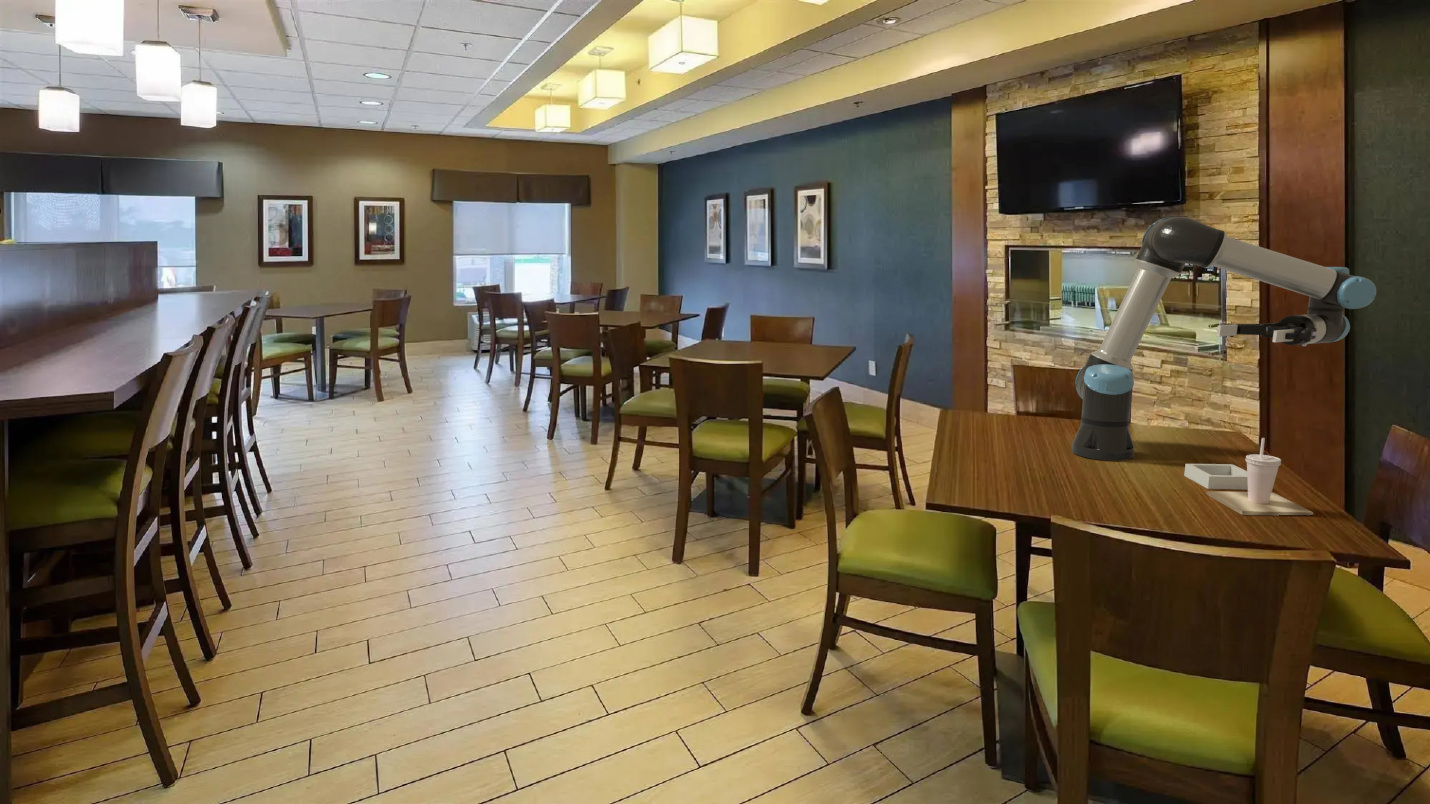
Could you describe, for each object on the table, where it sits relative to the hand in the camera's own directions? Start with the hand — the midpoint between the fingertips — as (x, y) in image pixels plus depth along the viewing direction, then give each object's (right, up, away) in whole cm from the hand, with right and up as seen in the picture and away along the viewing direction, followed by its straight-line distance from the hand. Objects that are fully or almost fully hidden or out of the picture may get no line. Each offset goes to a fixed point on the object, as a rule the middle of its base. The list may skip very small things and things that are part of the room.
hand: (1245, 333), depth 197 cm
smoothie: (-11, -38, -22) cm, 45 cm away
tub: (-9, -36, -5) cm, 37 cm away
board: (-12, -39, -22) cm, 46 cm away
